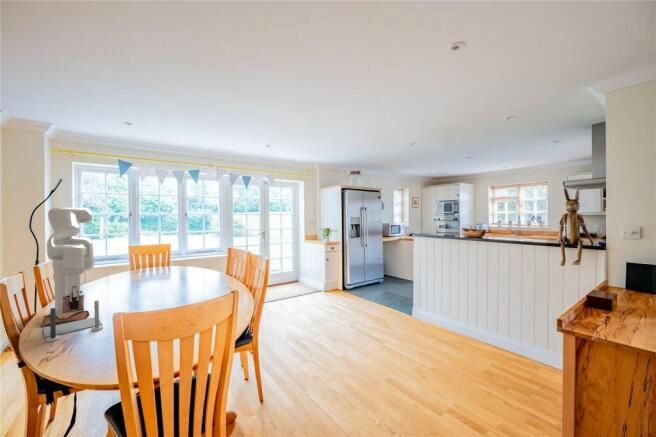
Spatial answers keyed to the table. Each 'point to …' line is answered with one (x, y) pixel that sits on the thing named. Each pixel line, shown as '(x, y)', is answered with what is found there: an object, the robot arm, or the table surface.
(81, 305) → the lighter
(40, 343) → the table surface
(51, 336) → the dark grey post
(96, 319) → the grey post
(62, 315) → the sunglasses case
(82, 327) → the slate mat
